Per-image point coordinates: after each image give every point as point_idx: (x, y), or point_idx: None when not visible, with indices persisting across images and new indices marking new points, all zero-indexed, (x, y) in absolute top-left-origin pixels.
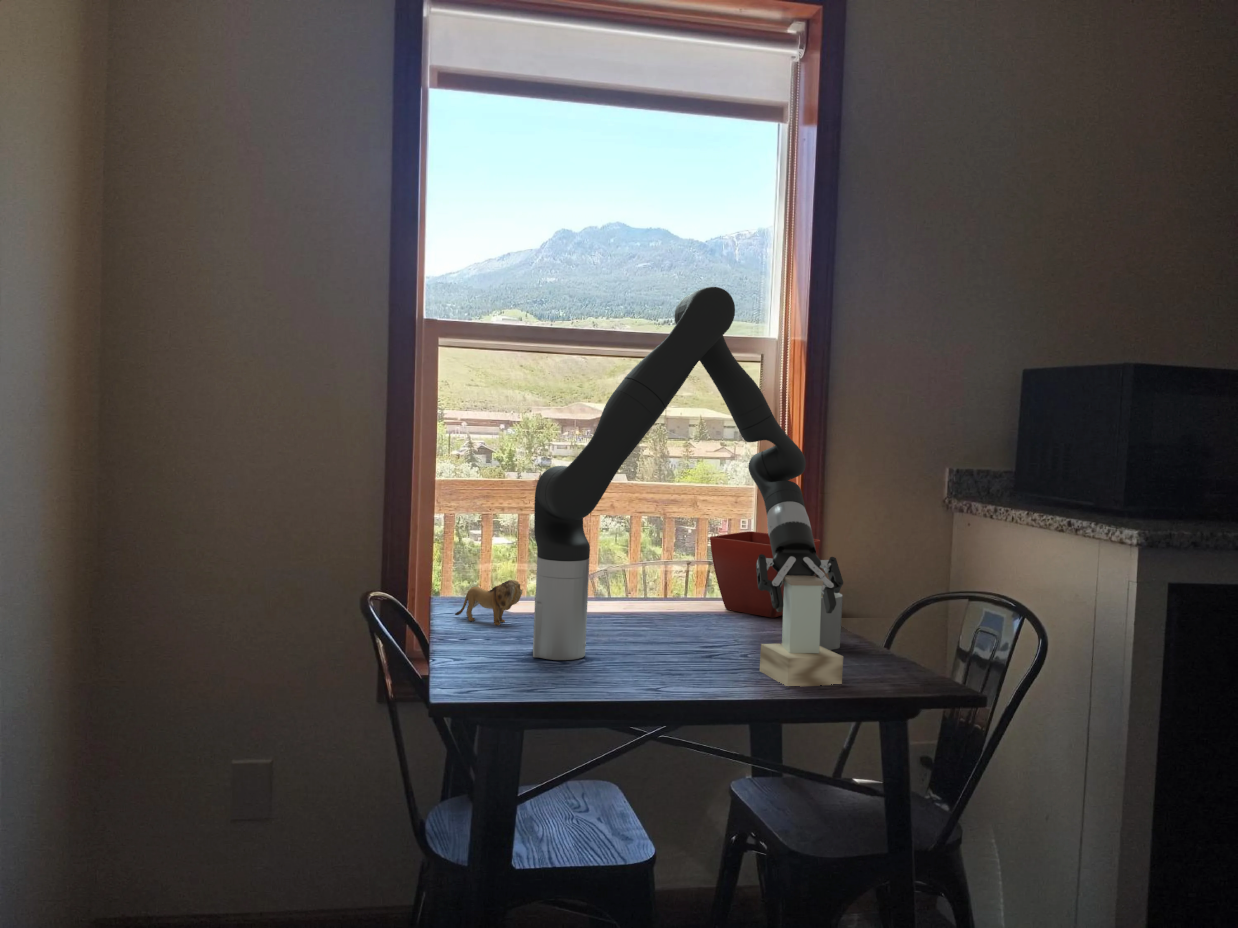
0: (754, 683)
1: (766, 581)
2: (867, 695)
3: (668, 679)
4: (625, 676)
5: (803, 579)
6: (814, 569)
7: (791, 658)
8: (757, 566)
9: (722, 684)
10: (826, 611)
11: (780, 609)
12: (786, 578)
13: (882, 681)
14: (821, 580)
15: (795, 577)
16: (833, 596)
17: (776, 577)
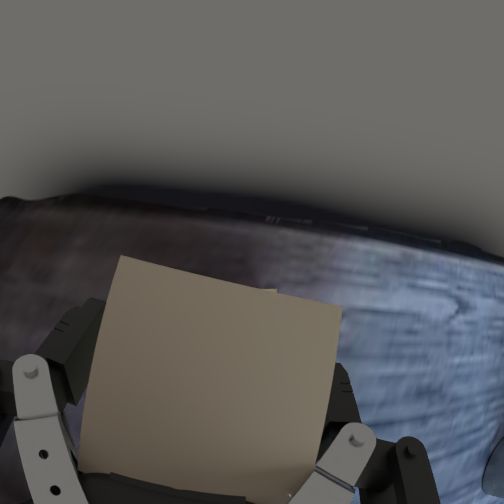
0: None
1: (401, 442)
2: (134, 224)
3: (440, 360)
4: (477, 372)
5: (236, 335)
6: (61, 475)
7: (269, 289)
8: None
9: (376, 329)
10: None
11: None
12: (320, 424)
13: (49, 303)
14: (125, 269)
15: (258, 422)
16: (55, 336)
17: (354, 472)
